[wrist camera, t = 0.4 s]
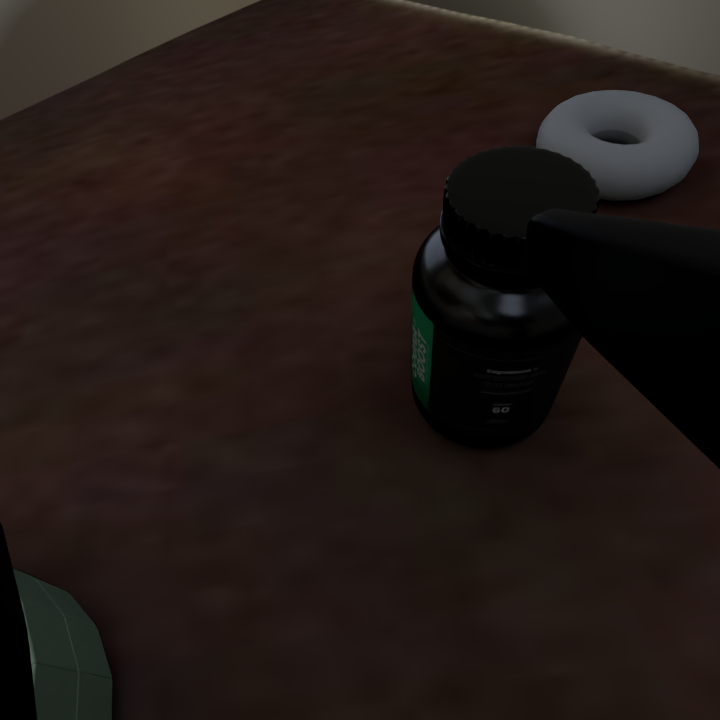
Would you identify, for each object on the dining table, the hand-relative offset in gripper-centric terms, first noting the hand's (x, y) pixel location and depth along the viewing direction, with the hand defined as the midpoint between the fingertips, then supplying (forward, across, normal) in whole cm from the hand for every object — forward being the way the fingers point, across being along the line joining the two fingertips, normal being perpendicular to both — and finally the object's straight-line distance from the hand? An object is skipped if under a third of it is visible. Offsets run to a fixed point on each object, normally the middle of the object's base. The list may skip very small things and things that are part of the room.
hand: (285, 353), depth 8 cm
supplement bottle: (+8, -10, +16) cm, 20 cm away
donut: (+18, -28, +14) cm, 36 cm away
